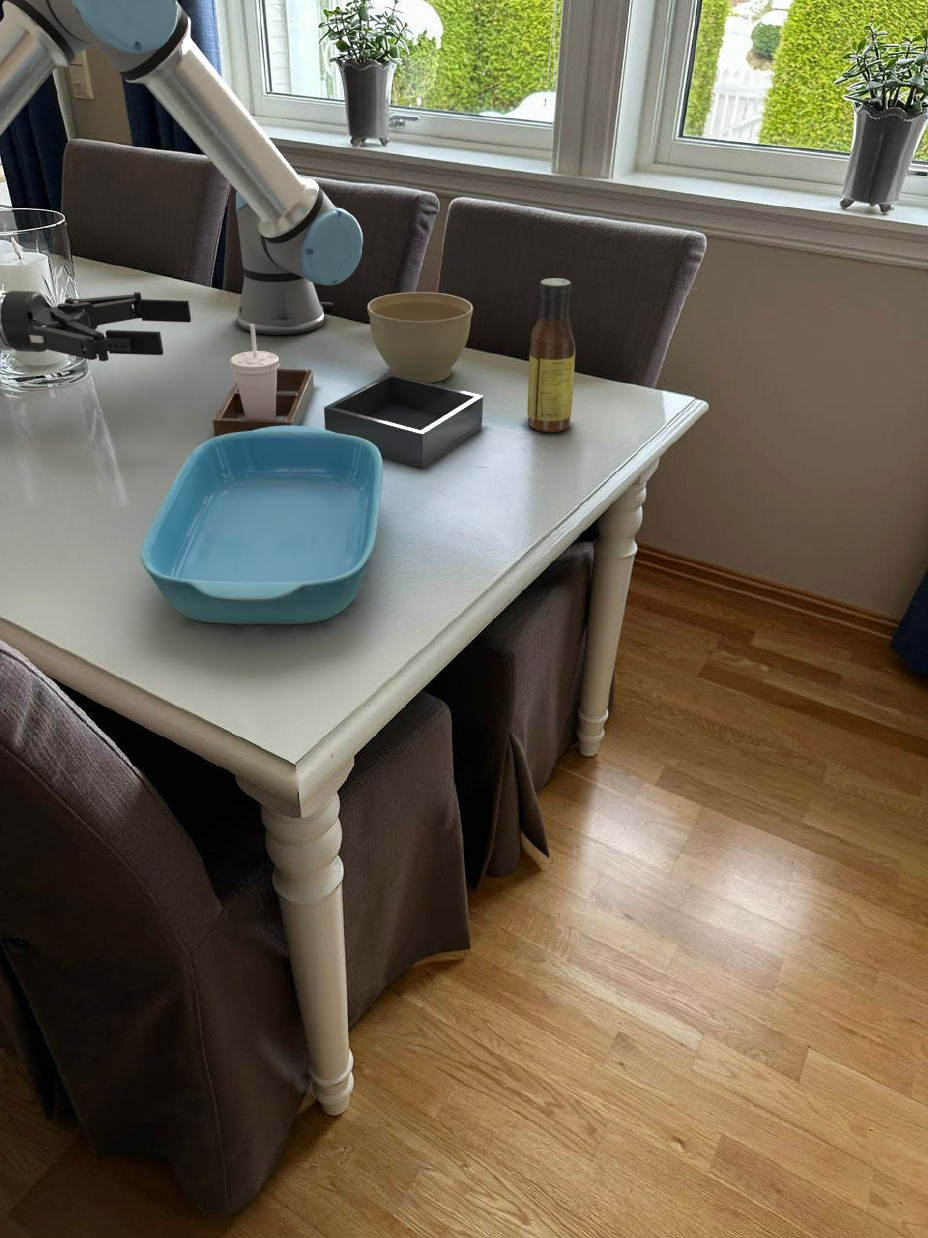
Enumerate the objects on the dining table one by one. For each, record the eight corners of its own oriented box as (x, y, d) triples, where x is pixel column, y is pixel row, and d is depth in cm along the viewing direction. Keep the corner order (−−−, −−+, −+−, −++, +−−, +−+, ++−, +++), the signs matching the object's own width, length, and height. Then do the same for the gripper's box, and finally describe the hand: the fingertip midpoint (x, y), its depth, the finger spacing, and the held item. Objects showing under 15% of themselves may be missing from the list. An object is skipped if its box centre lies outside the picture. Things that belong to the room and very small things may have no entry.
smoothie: (290, 419, 128) (281, 319, 120) (278, 437, 122) (268, 334, 114) (246, 416, 128) (234, 316, 120) (232, 434, 123) (219, 331, 115)
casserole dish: (372, 656, 83) (370, 592, 79) (128, 655, 82) (112, 590, 78) (388, 478, 113) (387, 424, 109) (210, 476, 112) (202, 422, 108)
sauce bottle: (578, 425, 129) (593, 282, 117) (551, 438, 125) (564, 291, 113) (543, 413, 132) (554, 272, 121) (515, 424, 128) (524, 280, 117)
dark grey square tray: (390, 404, 133) (389, 373, 130) (482, 428, 127) (483, 395, 124) (325, 440, 122) (323, 407, 119) (422, 468, 116) (422, 433, 113)
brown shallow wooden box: (246, 387, 137) (243, 367, 136) (314, 388, 137) (312, 369, 136) (215, 441, 121) (212, 420, 119) (293, 443, 121) (291, 422, 119)
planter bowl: (477, 362, 149) (480, 294, 143) (460, 397, 136) (462, 325, 130) (383, 353, 151) (382, 287, 145) (357, 387, 138) (354, 316, 132)
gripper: (54, 321, 129) (202, 326, 130) (-24, 383, 109) (152, 389, 109) (42, 266, 125) (195, 272, 125) (-41, 320, 105) (142, 327, 105)
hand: (176, 326), depth 117 cm, fingers open, 13 cm apart
